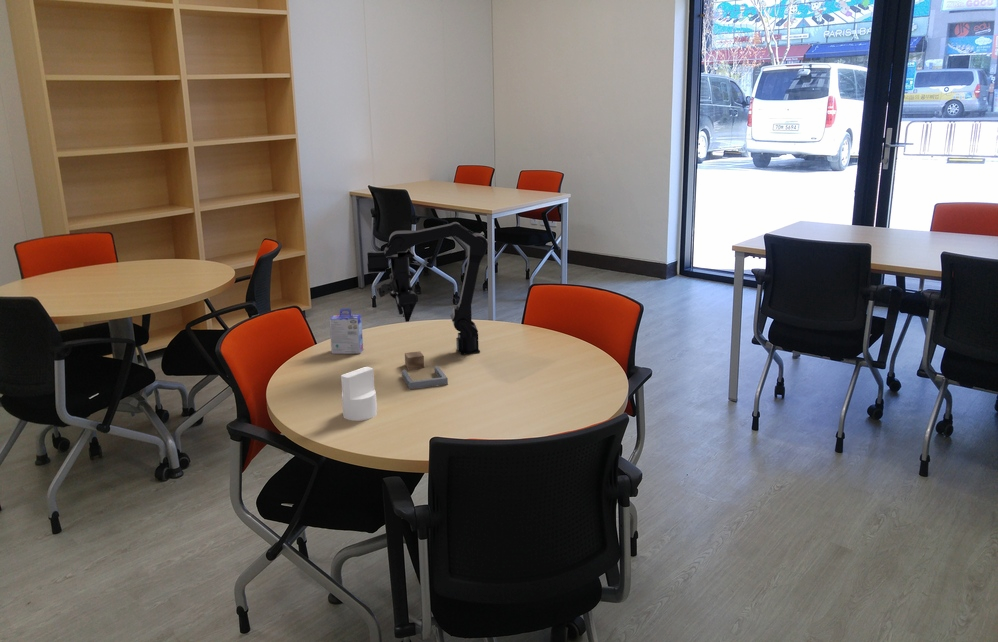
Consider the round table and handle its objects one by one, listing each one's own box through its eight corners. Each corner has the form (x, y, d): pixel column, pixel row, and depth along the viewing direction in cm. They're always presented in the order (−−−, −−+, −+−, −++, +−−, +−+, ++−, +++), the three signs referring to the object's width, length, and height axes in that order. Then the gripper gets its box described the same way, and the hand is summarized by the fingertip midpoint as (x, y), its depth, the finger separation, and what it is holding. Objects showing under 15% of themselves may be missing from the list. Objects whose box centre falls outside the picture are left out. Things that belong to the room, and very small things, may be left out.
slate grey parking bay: (438, 371, 234) (438, 365, 233) (447, 384, 223) (447, 378, 223) (402, 376, 230) (401, 370, 230) (409, 389, 220) (409, 382, 219)
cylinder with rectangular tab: (362, 404, 209) (359, 363, 206) (384, 412, 204) (381, 370, 201) (336, 415, 203) (332, 373, 199) (358, 423, 197) (355, 380, 194)
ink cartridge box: (364, 348, 256) (361, 307, 252) (361, 354, 251) (358, 312, 247) (335, 349, 256) (331, 307, 252) (331, 354, 251) (328, 312, 247)
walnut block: (420, 363, 242) (420, 351, 241) (424, 368, 238) (423, 356, 237) (405, 364, 241) (404, 353, 240) (408, 370, 236) (408, 357, 235)
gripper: (370, 268, 247) (374, 313, 252) (381, 280, 230) (385, 328, 235) (403, 264, 251) (406, 309, 255) (416, 276, 234) (420, 324, 238)
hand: (404, 317), depth 246 cm, fingers open, 9 cm apart
